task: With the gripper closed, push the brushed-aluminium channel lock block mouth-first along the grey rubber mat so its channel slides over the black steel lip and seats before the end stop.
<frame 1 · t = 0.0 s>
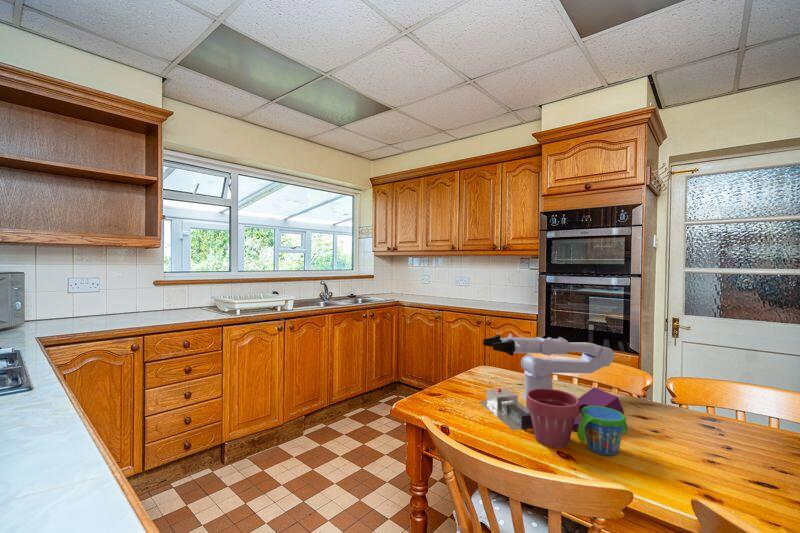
hand: (488, 344, 134), 22 cm above the table, tool horizontal, fingers open, 7 cm apart
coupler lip: (512, 413, 125), on the table
lock block: (501, 404, 133), resting on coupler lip
snack cup: (602, 450, 101), on the table
mounting bracket: (588, 425, 117), on the table
plant pot: (552, 441, 106), on the table
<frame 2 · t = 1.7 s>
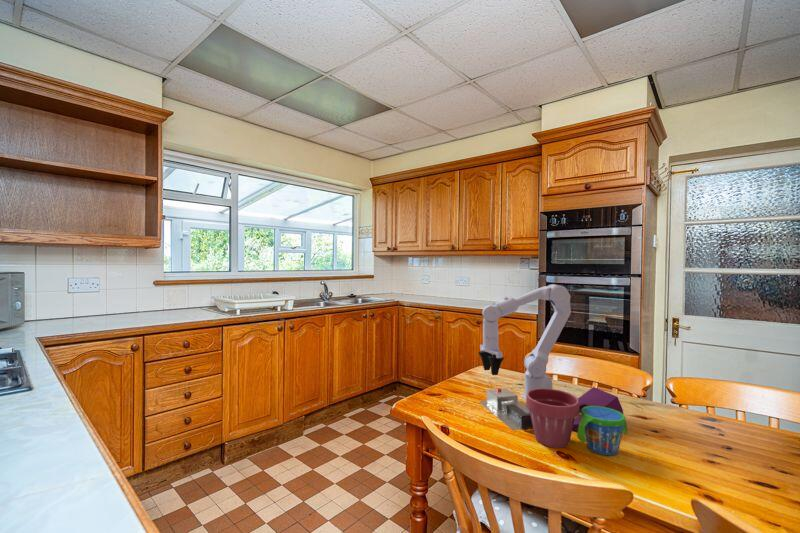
hand: (490, 372, 141), 9 cm above the table, tool pointing down, fingers open, 6 cm apart
nothing on the table moved.
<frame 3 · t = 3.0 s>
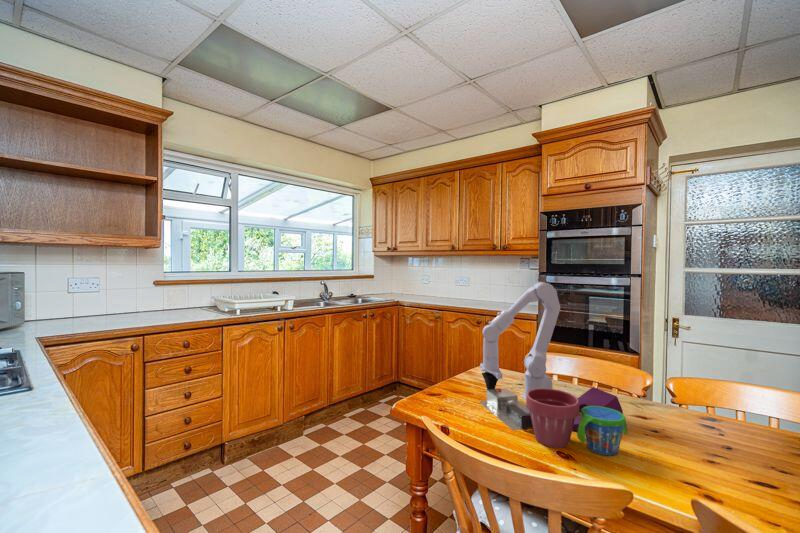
hand: (490, 392, 141), 2 cm above the table, tool pointing down, fingers closed
nothing on the table moved.
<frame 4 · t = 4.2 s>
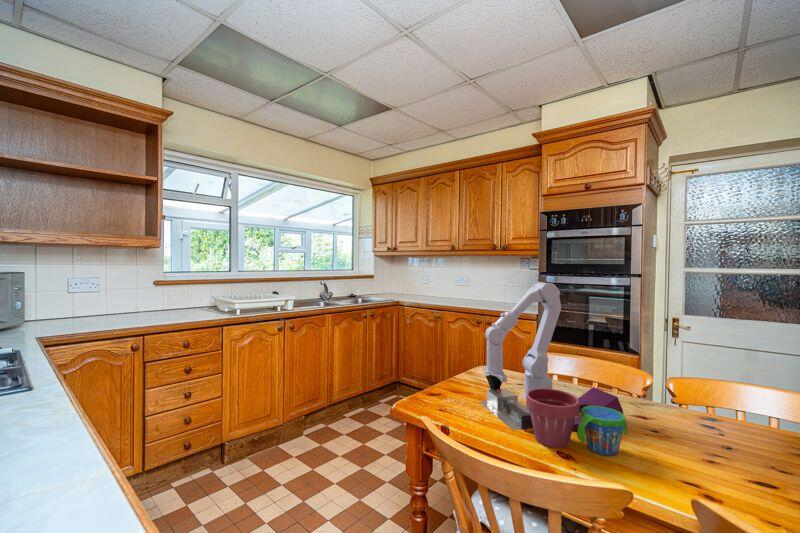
hand: (494, 395, 138), 2 cm above the table, tool pointing down, fingers closed
lock block: (502, 404, 133), resting on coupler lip, touching gripper
everything else where it was.
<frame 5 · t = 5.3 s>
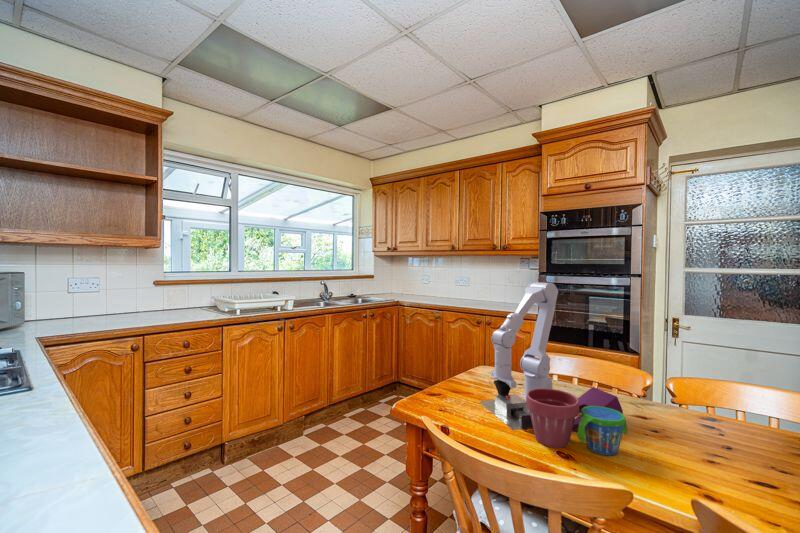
hand: (503, 401, 132), 2 cm above the table, tool pointing down, fingers closed
lock block: (511, 411, 127), resting on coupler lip, touching gripper
everything else where it was.
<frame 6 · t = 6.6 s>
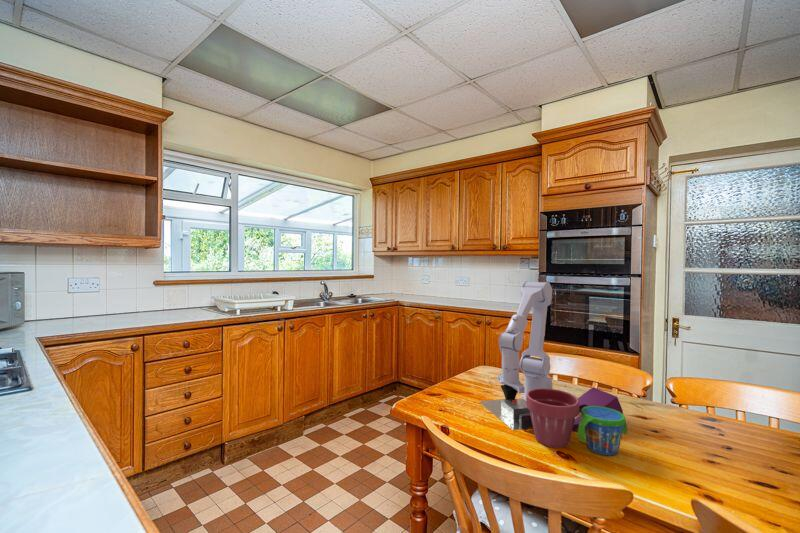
hand: (510, 406, 127), 2 cm above the table, tool pointing down, fingers closed, pressing on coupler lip
lock block: (517, 416, 122), resting on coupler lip, touching gripper
everything else where it was.
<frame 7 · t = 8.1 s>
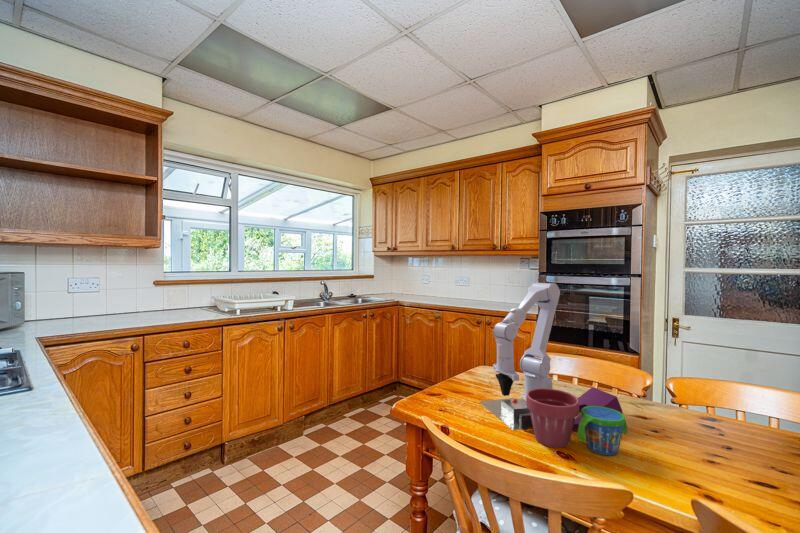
hand: (505, 394, 130), 4 cm above the table, tool pointing down, fingers closed
lock block: (518, 416, 122), resting on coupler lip
everything else where it was.
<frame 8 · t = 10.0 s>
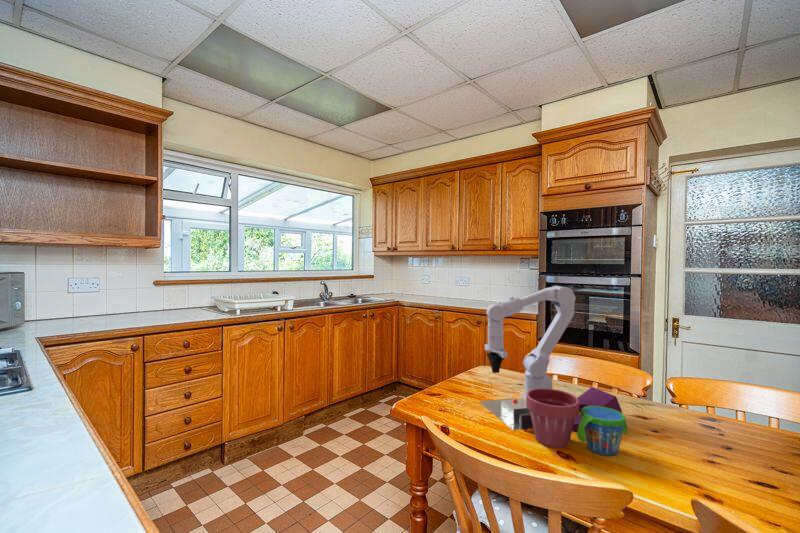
hand: (495, 372, 139), 10 cm above the table, tool pointing down, fingers closed
nothing on the table moved.
at the end: lock block 1.2 cm from the target spot on the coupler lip, point 0.3 cm above the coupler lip's base; lock block tilted 0° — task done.
